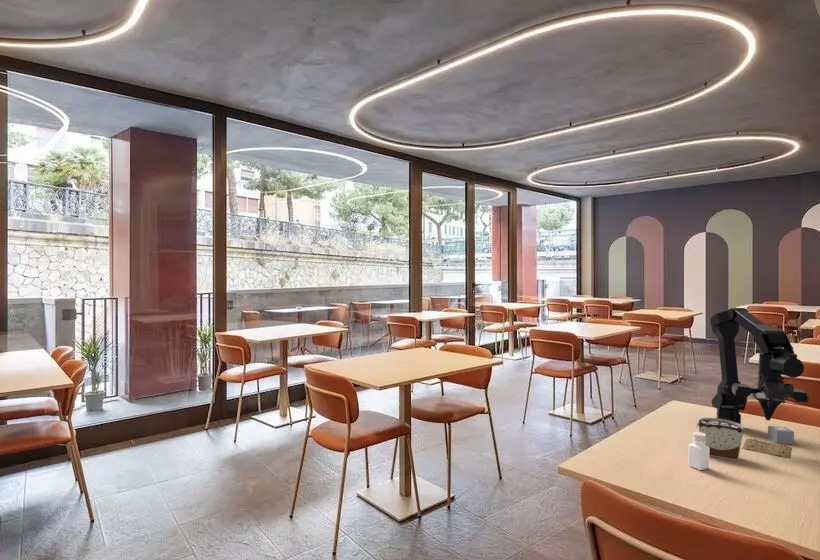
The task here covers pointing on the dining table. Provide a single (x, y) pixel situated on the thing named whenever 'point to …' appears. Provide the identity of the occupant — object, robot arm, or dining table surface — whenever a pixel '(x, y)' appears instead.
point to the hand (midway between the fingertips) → (767, 420)
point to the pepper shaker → (698, 452)
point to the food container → (722, 437)
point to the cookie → (767, 448)
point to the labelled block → (780, 434)
